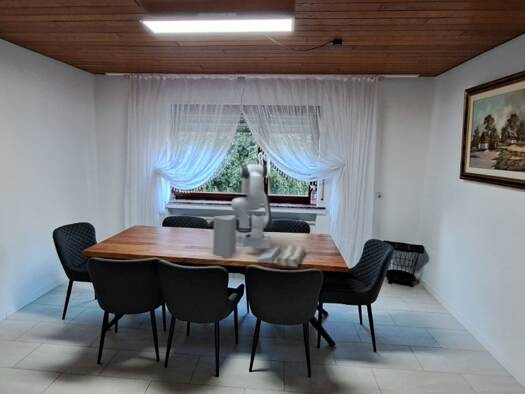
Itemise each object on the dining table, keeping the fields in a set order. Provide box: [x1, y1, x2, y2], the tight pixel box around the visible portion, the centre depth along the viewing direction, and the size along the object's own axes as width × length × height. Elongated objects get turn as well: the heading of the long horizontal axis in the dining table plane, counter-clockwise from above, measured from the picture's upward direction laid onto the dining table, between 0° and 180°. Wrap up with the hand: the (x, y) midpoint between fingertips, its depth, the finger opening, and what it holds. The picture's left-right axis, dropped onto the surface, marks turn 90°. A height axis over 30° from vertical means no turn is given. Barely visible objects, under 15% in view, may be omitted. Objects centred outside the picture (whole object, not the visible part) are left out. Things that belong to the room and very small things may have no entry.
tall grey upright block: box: [212, 214, 237, 259], centre depth 272 cm, size 19×15×28 cm
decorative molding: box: [257, 245, 282, 264], centre depth 271 cm, size 34×5×10 cm
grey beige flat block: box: [276, 244, 306, 268], centre depth 266 cm, size 14×36×5 cm, turn 165°
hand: (256, 252), depth 273 cm, fingers closed
